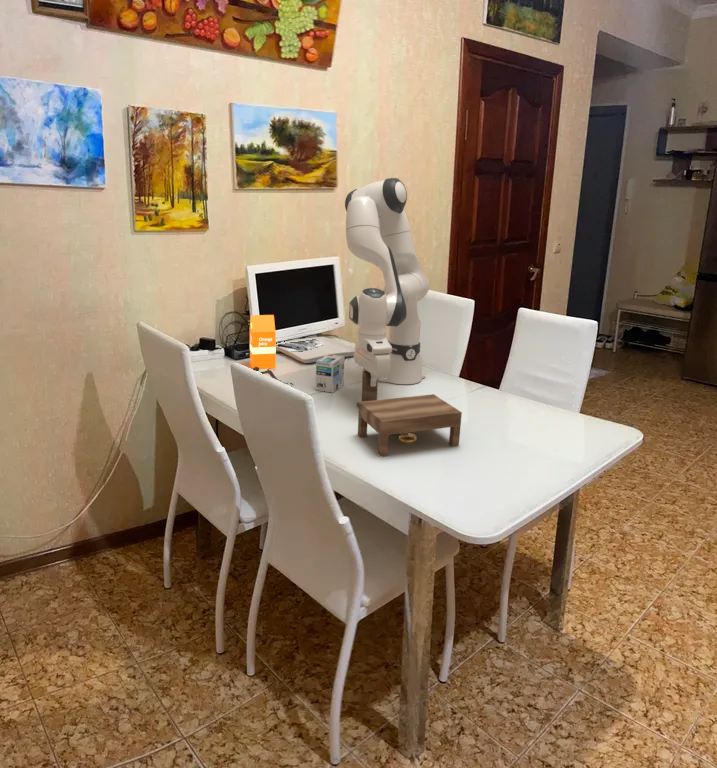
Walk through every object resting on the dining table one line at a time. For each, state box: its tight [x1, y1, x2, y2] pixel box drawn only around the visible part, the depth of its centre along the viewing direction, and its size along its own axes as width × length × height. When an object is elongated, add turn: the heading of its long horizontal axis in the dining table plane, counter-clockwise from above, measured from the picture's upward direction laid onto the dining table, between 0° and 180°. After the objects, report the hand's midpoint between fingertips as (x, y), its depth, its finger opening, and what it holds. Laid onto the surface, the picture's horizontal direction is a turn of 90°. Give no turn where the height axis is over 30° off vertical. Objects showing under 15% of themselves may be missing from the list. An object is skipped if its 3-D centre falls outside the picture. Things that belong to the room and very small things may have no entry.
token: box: [398, 432, 417, 445], centre depth 181 cm, size 5×5×2 cm
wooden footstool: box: [357, 393, 463, 457], centre depth 179 cm, size 16×24×10 cm, turn 112°
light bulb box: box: [315, 354, 346, 393], centre depth 222 cm, size 11×7×11 cm, turn 160°
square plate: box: [276, 336, 355, 364], centre depth 265 cm, size 27×27×4 cm
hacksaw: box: [252, 367, 294, 386], centre depth 233 cm, size 24×10×2 cm, turn 20°
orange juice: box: [249, 314, 277, 370], centre depth 243 cm, size 8×9×20 cm
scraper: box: [356, 370, 379, 408], centre depth 195 cm, size 24×7×12 cm, turn 22°
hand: (369, 383), depth 203 cm, fingers closed on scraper, 3 cm apart
